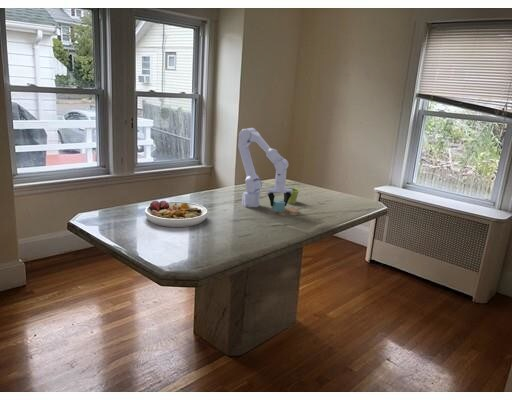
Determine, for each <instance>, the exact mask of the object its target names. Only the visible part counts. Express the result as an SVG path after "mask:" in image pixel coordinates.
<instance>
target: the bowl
mask: <svg viewBox="0 0 512 400" xmlns="http://www.w3.org/2000/svg"><path fill="white" fill-rule="evenodd" d="M144 213H145V217H146V219H148V220H149V222H151V223H152V224H155V225H158V226H160V227H161V226H162V227H166V228H187V227H193V226H196V225H199V224H200V223H202V222H204V221H205V220H206V218H207V217H208V209H207V208H206V207H205V206H203V205H201V204H197V203H193V202H185V201H166V200H160V201H158V200H153V201H152V202H151V203H149V205H148V206H146V208H145V210H144Z"/></svg>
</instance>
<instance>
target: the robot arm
mask: <svg viewBox="0 0 512 400" xmlns="http://www.w3.org/2000/svg"><path fill="white" fill-rule="evenodd" d="M252 143H256V144H257V145H258V146H259V147H260V148H261V150H263V151H264V152H265V156H266V158H268V159H269V160H270V162H271V163H272V164H273V165H274V168H275V179H274V188H268V189H266V190H265V191H266V193H265V194H267V196H268V199H269V202H270V206H271V208H272V207H273V204H274V200H275V196H276V195H275V194H283V201H284V202H285V207H286V206H288V205H287V204H288V203H287V202H288V200H289V198H290V197H291V194H290V193H292V191H293V190H292V189H285V188H286V185H287V184H286V183H287V171H288V170H287V169H288V168H289V161H288V159H286V158H284V156H282V155H281V154H280V153H279V152H278V150H277V149H275V148H271V147H270V146H269V144H268V143H267V142H266V140H265V139H264V138H263V136H261V134H260V132H259V131H257V130H256V128H254V127H248V128H242V129H241V130H240V131H239V133H238V144H237V147H238V151H239V155H240V158H241V162H242V164H243V165H242V166H243V169H244V173H245V179H244V182H245V187H244V188H245V190H246V191H243V192H242V194H241V206H243V207H244V208H257V207H259V206H260V195H261V189H262V188H263V183H262V180H261V179H260V177H259V175H258V174H257V173H256V169H255V167H254V163H253V159H252V157H251V156H252V155H251V151H250V147H249V146H250V144H252Z"/></svg>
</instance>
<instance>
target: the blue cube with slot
mask: <svg viewBox="0 0 512 400" xmlns="http://www.w3.org/2000/svg"><path fill="white" fill-rule="evenodd" d="M271 208H272V210H274V211H275V212H284V211H285V208H286V206H285V202H284V200H282V199H274V204H273V207H272V206H271Z"/></svg>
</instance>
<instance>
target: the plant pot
mask: <svg viewBox="0 0 512 400" xmlns="http://www.w3.org/2000/svg"><path fill="white" fill-rule="evenodd" d="M285 189H292V190H293V191H292V193H290V194H291V197H290V198H289V200H288V202H287V204H291V205H292V204H296V203H297V198H298V195H299V192H300V190H299V189H298V188H293V187H285Z"/></svg>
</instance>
